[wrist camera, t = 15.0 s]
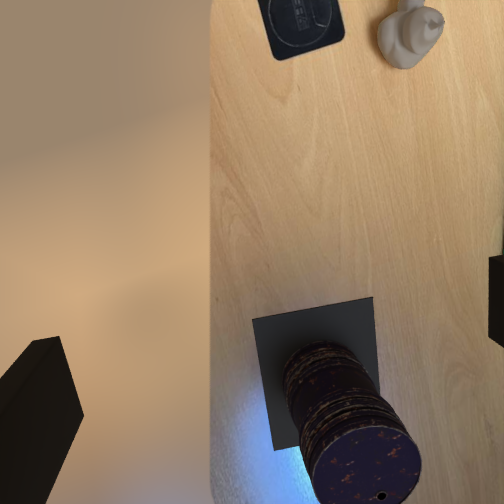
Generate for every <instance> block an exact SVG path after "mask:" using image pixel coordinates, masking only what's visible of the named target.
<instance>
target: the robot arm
mask: <svg viewBox="0 0 504 504" xmlns="http://www.w3.org/2000/svg"><path fill="white" fill-rule="evenodd" d="M488 337H489V338H491V339H492V340H493V341H495V342H496V343H498V344H499V345H500V346H502V347H503V348H504V255H498V256H493V257H489V311H488ZM83 417H84V414H83V411H82V407H81V404H80V401H79V398H78V394H77V391H76V388H75V385H74V382H73V379H72V375H71V372H70V369H69V365H68V362H67V359H66V356H65V353H64V349H63V346H62V343H61V340H60V337H59V336H56V337H51V338H45V339H40V340H34V341H32V342H31V343H30V344H29V346H28V347H27V348H26V349H25V350H24V351H23V352H22V354H21V355H20V356H19V357H18V358H17V360H16V361H15V362H14V363H13V364H12V365H11V366H10V368H9V369H8V370H7V371H6V372H5V374H4V375H3V376H2V377H1V378H0V504H46V501H47V499H48V497H49V494H50V492H51V490H52V488H53V485H54V483H55V481H56V479H57V476H58V474H59V471H60V469H61V467H62V465H63V463H64V460H65V458H66V456H67V454H68V451H69V449H70V447H71V444H72V442H73V440H74V438H75V435H76V433H77V431H78V429H79V426H80V424H81V422H82V419H83Z"/></svg>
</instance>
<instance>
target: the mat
mask: <svg viewBox="0 0 504 504" xmlns="http://www.w3.org/2000/svg"><path fill="white" fill-rule="evenodd" d="M252 321H253V327H254V333H255V339H256V345H257V351H258V357H259V363H260V369H261V375H262V381H263V387H264V393H265V399H266V405H267V411H268V417H269V423H270V429H271V435H272V441H273V447H274V451H276V450H281V449H286V448H290V447H295V446H299V433H298V430H297V428H296V426H295V425H294V423H293V421H292V418H291V415H290V413H289V411H288V408H287V405H286V401H285V394H284V391H283V388H282V373H283V369H284V367H285V365H286V363H287V361H288V360H289V358H290V357H291V356H292V355H293V354H294V353H295V352H296V351H297V350H299V349H300V348H302V347H303V346H305V345H307V344H310V343H313V342H317V341H334V342H337V343H340V344H342V345H345V346H346V347H347V348H349V349H350V350H351V351H352V352H353V353H354V354H355V356H356V357H357V359H358V360H359V361H360V362H361V363H362V364H363V366H364V367H365V369H366V370H367V372H368V373H369V375H370V377H371V379H372V381H373V382H374V384H375V386H376V389H377V392H378V393H379V395H380V385H379V372H378V359H377V346H376V333H375V320H374V307H373V297H370V298H365V299H359V300H354V301H349V302H343V303H338V304H333V305H327V306H322V307H316V308H311V309H306V310H300V311H295V312H290V313H284V314H279V315H273V316H268V317H263V318H257V319H252Z"/></svg>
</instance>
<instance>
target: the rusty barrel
mask: <svg viewBox="0 0 504 504" xmlns="http://www.w3.org/2000/svg"><path fill="white" fill-rule="evenodd" d="M282 388H283V391H284V394H285V401H286V405H287V408H288V411H289V413H290V415H291V418H292V421H293V423H294V425H295V426H296V428H297V430H298V433H299V446H300V451H301V454H302V457H303V461H304V464H305V467H306V470H307V473H308V475H309V477H310V480H311V484H312V487H313V490H314V493H315V496H316V498H317V499H318V501H319V503H320V504H402V503H403V502H404V501H405V500H406V499H407V498H408V497H409V496H410V495H411V494H412V492H413V491H414V489H415V488H416V486H417V484H418V482H419V479H420V476H421V471H422V458H421V454H420V451H419V449H418V447H417V445H416V444H415V442H414V441H413V439H412V438H411V437H410V435H409V433H408V432H407V430H406V428H405V426H404V424H403V423H402V421H401V420H400V418H399V417H398V416H397V414H396V413H395V411H394V410H393V408H392V407H391V405H390V404H389V403H388V402H387V401H386V400H384V399H383V398H382V397H381V396H380V395H379V393H378V392H377V389H376V386H375V384H374V382H373V381H372V379H371V377H370V375H369V373H368V372H367V370H366V369H365V367H364V366H363V364H362V363H361V362H360V361H359V360H358V359H357V357H356V356H355V354H354V353H353V352H352V351H351V350H350V349H349V348H347V347H346V346H345V345H342V344H340V343H337V342H334V341H317V342H313V343H310V344H307V345H305V346H303V347H302V348H300V349H299V350H297V351H296V352H295V353H294V354H293V355H292V356H291V357H290V358H289V360H288V361H287V363H286V365H285V367H284V369H283V373H282Z"/></svg>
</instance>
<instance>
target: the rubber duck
mask: <svg viewBox="0 0 504 504" xmlns="http://www.w3.org/2000/svg"><path fill="white" fill-rule="evenodd" d="M424 1H425V0H400V1H399V2H398V6H397V12H395V13H392V14H391V15H389V16H388V17H386V18H385V19H384V20H383V21H382V22H381V23H380V24H379V26H378V37H377V42H378V46H379V48H380V50H381V51H382V54H383V56H384V58H385V59H386V60H387V61H388V62H389V63H390V64H391V65H392V66H393V67H395V68H398V69H410V68H412V67H414V66H415V65H416V64H417V63H418V62H419V61H420V60H421V59H422V58H423V57H424V56H425V55H426V54H427V53H428V52H429V50H430V49H431V48H432V47H433V46H434V44H435V43H436V42H437V40H438V39H439V37H440V36H441V34H442V32H443V27H444V23H445V21H444V18H443V16H442V14H441V13H440V12H439V11H438V10H436V9H434V8H431V7H425V6H424Z"/></svg>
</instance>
